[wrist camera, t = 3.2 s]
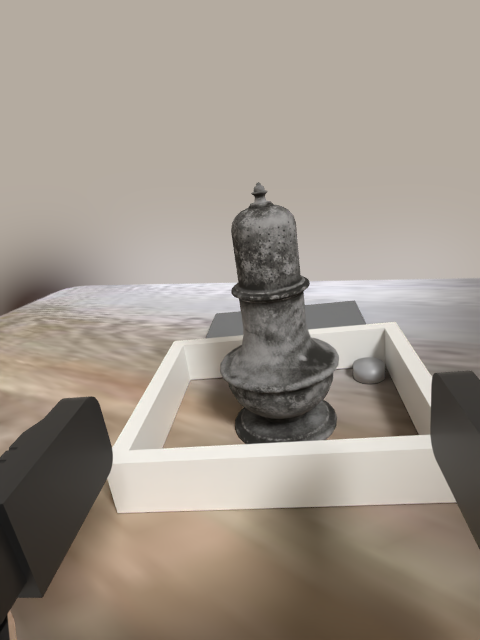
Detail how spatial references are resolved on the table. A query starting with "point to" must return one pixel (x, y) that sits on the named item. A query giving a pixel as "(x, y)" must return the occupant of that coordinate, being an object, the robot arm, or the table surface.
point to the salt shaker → (276, 335)
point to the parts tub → (285, 457)
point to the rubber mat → (315, 315)
